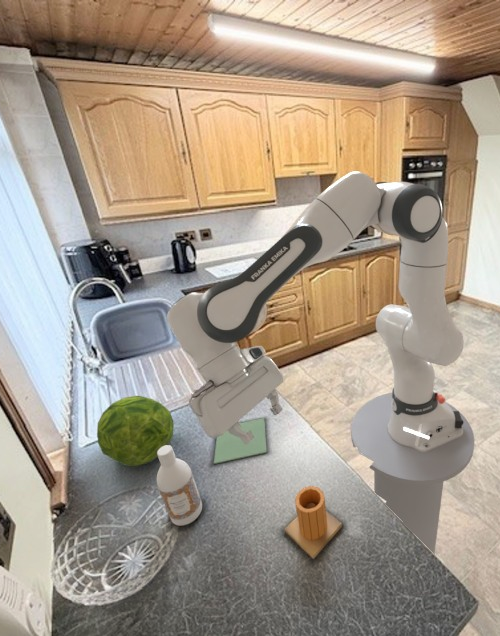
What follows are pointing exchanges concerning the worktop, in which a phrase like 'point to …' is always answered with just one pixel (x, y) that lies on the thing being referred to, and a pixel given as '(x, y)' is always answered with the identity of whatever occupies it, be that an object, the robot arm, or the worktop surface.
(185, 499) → the bath foam
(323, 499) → the orange ribbed tube
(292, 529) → the post
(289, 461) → the worktop surface
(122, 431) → the lettuce
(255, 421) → the mat
